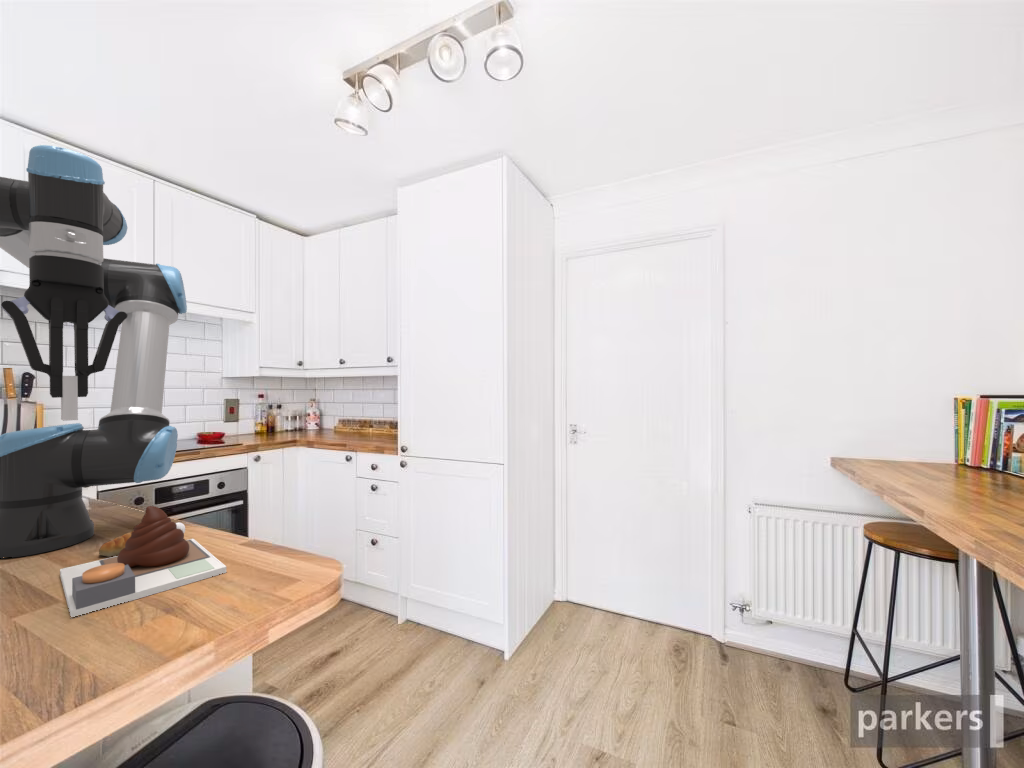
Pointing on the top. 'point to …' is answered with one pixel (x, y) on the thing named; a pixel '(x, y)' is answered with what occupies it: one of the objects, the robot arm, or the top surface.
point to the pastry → (114, 545)
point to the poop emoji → (154, 541)
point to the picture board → (136, 580)
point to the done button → (103, 573)
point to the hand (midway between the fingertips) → (69, 419)
